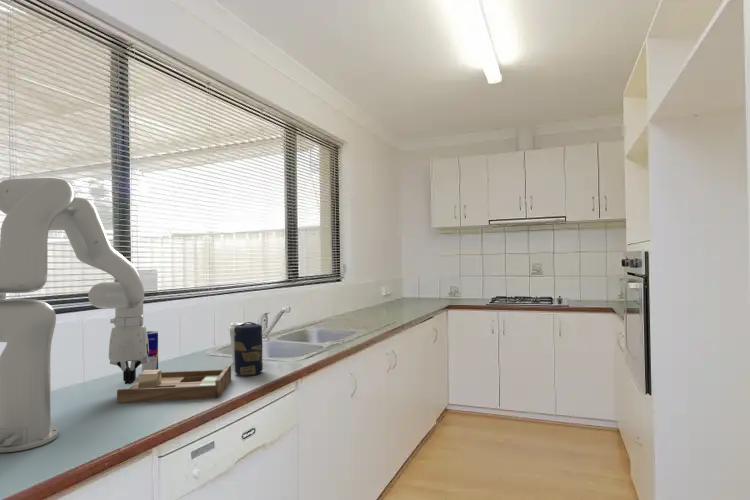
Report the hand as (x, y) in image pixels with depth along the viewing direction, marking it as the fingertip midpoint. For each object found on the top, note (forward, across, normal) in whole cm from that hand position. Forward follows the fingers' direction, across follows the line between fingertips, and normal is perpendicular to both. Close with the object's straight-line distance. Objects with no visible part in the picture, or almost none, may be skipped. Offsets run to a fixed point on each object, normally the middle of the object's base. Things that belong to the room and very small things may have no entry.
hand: (129, 382), depth 140 cm
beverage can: (+3, -1, +22) cm, 22 cm away
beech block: (+1, +6, 0) cm, 6 cm away
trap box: (+3, +14, 0) cm, 14 cm away
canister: (+3, +33, +17) cm, 37 cm away
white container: (+3, +28, +36) cm, 46 cm away
